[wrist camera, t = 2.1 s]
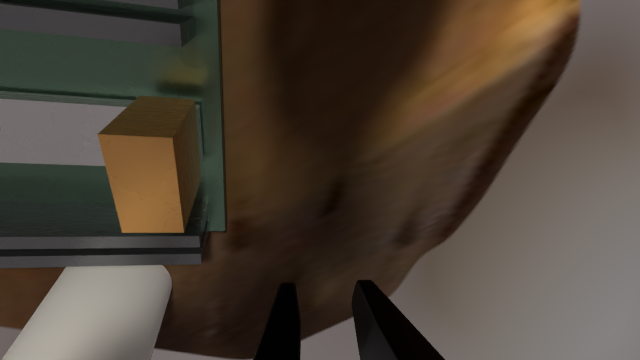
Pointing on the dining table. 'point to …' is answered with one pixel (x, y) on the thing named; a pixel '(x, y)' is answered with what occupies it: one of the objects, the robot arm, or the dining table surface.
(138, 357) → the cylindrical container
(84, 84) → the green plate fixture
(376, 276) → the dining table surface
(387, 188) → the dining table surface
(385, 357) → the robot arm
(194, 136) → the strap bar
